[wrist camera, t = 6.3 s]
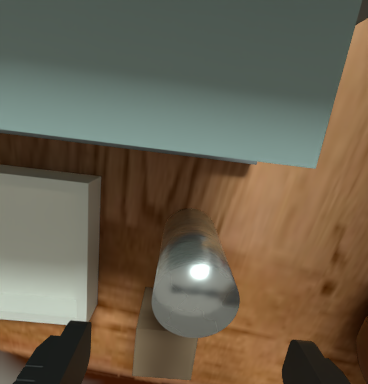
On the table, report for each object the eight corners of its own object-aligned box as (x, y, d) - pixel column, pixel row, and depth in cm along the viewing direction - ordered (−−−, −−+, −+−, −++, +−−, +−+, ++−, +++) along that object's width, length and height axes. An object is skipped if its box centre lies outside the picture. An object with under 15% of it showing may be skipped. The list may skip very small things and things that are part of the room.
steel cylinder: (219, 211, 18) (247, 269, 11) (211, 258, 20) (230, 341, 12) (166, 205, 18) (155, 259, 11) (161, 253, 19) (148, 334, 12)
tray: (101, 176, 18) (88, 183, 15) (97, 303, 21) (86, 326, 18) (-73, 155, 17) (-115, 159, 15) (-50, 290, 20) (-82, 311, 18)
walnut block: (194, 291, 21) (198, 333, 16) (188, 330, 22) (190, 380, 17) (145, 286, 20) (136, 328, 16) (142, 326, 22) (132, 375, 17)
